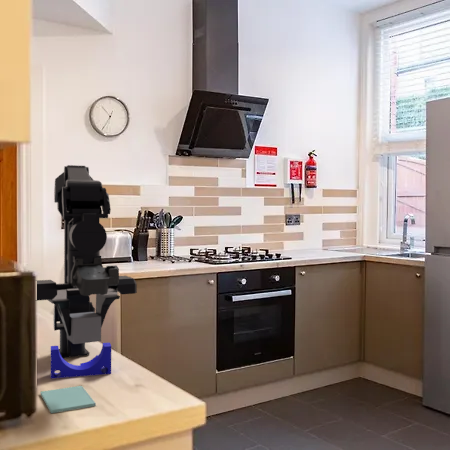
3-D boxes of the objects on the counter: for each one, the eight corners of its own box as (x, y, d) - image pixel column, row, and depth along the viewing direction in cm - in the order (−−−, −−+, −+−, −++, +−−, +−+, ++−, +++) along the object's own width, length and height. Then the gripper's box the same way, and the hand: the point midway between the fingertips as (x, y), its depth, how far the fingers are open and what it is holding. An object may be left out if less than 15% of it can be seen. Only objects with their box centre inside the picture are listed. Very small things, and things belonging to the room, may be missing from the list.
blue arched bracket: (109, 368, 119) (109, 340, 119) (111, 374, 115) (111, 346, 114) (50, 372, 115) (50, 344, 115) (50, 379, 111) (50, 349, 111)
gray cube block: (66, 338, 103) (66, 314, 102) (93, 335, 105) (93, 311, 105) (73, 344, 98) (73, 319, 98) (101, 341, 101) (101, 316, 100)
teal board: (40, 394, 102) (40, 391, 102) (81, 388, 106) (81, 385, 106) (51, 413, 93) (51, 410, 93) (95, 405, 97) (95, 403, 97)
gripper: (39, 255, 89) (39, 350, 90) (147, 251, 99) (147, 337, 99) (27, 249, 99) (27, 335, 100) (126, 247, 108) (126, 325, 109)
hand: (83, 334), depth 102 cm, fingers closed on gray cube block, 5 cm apart
